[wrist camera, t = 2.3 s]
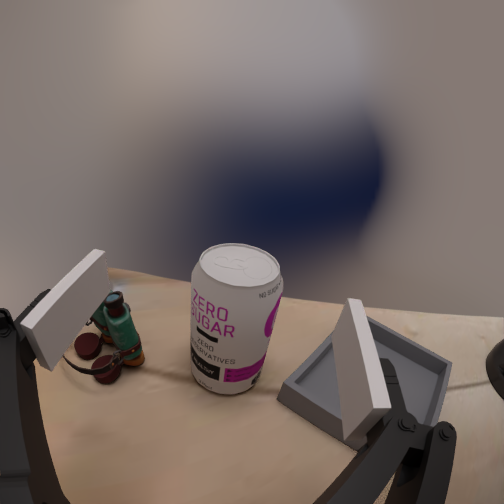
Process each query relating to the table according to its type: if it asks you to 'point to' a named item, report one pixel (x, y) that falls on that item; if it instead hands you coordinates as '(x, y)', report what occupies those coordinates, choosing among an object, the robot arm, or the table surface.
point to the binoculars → (110, 340)
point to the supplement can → (232, 315)
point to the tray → (388, 346)
